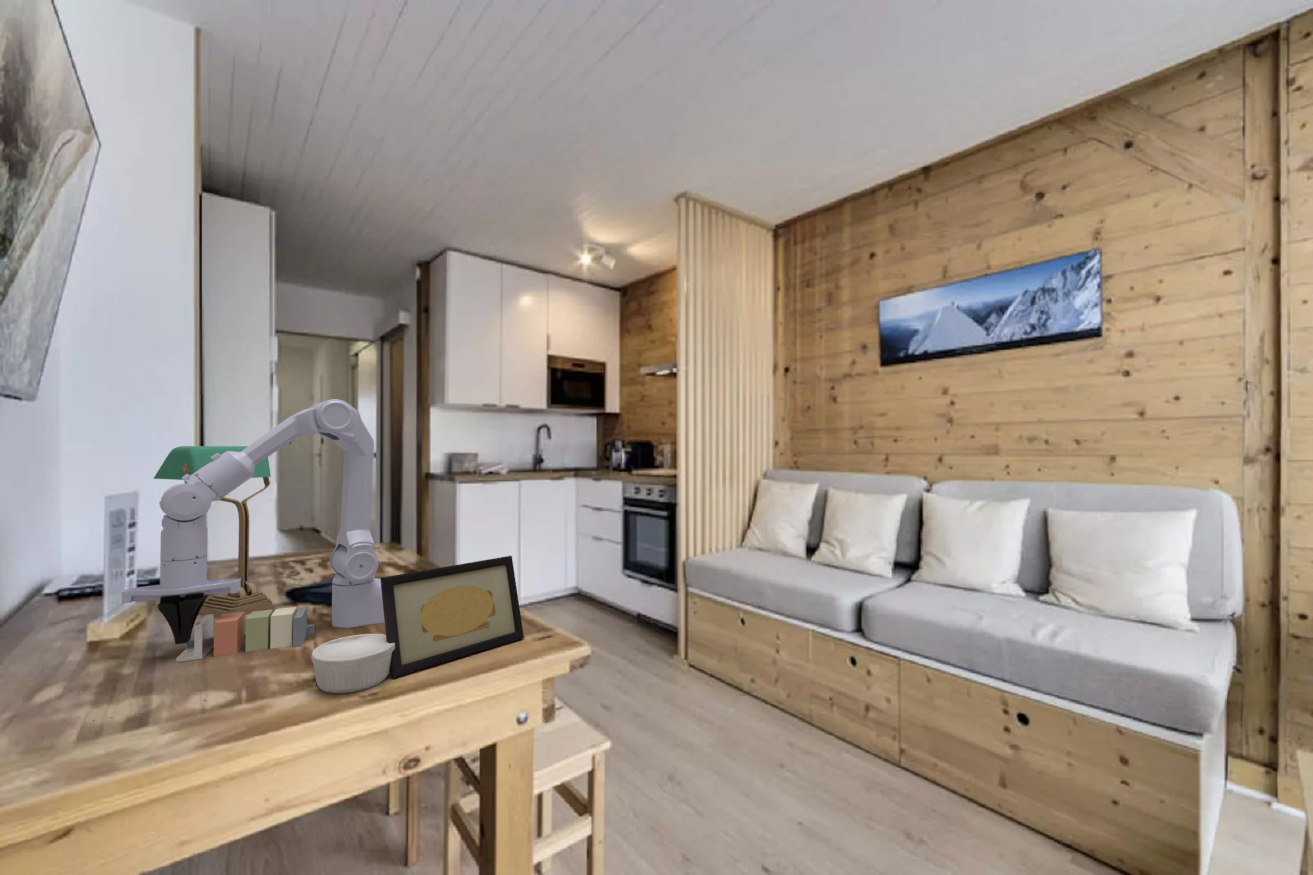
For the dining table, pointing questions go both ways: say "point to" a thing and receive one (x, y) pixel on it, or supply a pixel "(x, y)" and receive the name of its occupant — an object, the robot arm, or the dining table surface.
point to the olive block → (258, 630)
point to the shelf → (298, 629)
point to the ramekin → (352, 662)
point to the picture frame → (449, 612)
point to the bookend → (199, 640)
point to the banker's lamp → (248, 596)
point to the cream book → (282, 627)
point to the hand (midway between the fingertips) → (183, 641)
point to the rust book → (229, 634)
